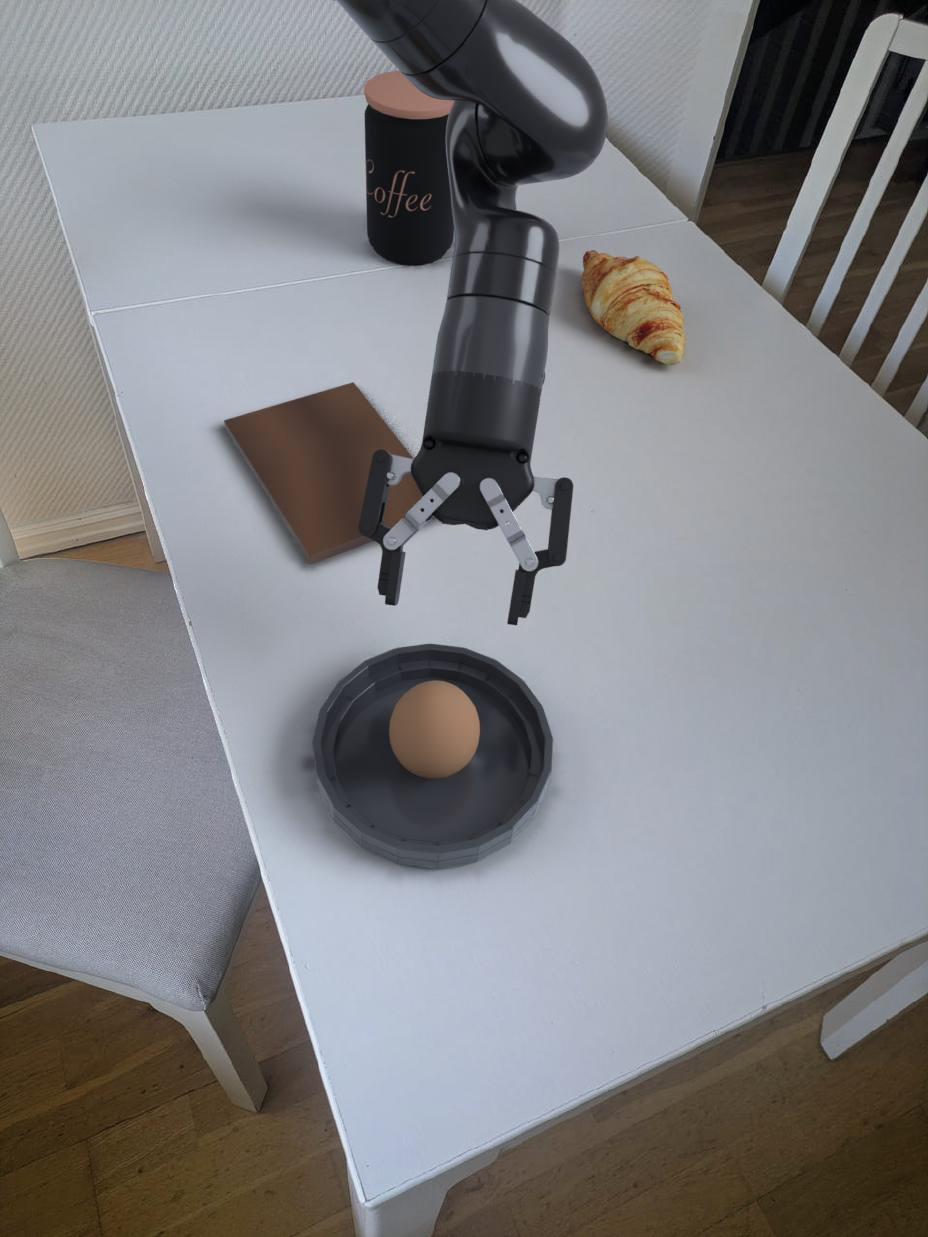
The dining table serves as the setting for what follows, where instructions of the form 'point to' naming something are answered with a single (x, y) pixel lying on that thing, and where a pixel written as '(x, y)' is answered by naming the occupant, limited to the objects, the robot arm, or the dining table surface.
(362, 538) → the board
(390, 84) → the coffee jar
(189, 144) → the dining table surface
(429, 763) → the egg
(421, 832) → the pan
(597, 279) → the croissant
